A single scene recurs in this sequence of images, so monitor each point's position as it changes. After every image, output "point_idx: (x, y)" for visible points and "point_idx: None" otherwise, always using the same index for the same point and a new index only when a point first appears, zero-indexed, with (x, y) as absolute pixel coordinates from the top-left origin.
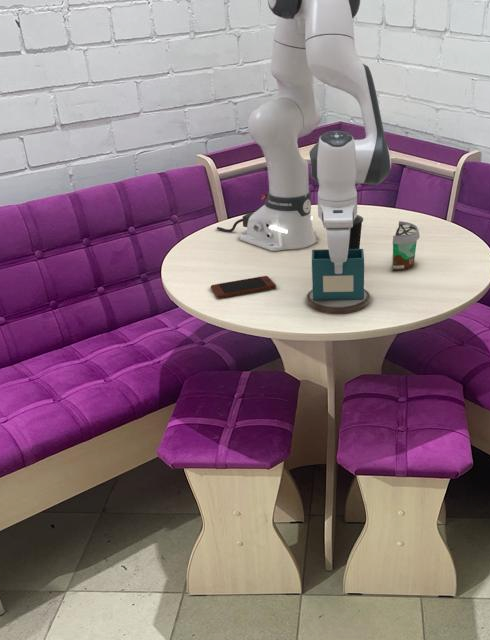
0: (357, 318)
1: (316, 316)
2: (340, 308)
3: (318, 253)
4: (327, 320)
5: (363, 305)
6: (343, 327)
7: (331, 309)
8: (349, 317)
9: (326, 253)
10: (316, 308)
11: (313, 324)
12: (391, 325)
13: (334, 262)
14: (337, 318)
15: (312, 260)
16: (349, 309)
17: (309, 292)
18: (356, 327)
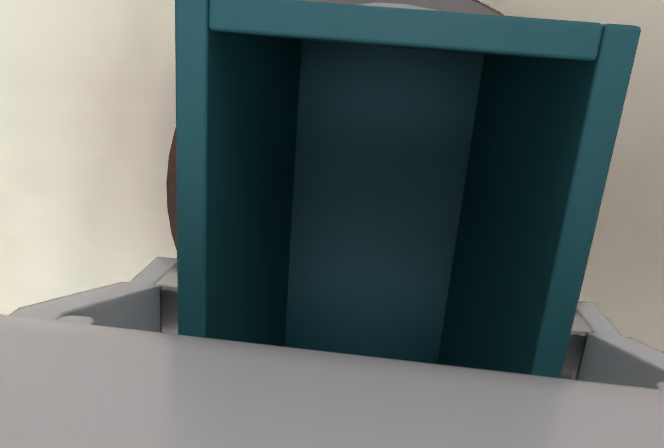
0: (118, 278)
1: (147, 38)
2: (174, 202)
3: (563, 126)
4: (90, 105)
5: None
6: (5, 189)
7: (173, 144)
8: (131, 237)
9: (543, 238)
10: None
11: (33, 9)
12: None
13: (39, 307)
14: (118, 168)
15: (181, 6)
16: None
17: (467, 5)
18: (9, 257)
